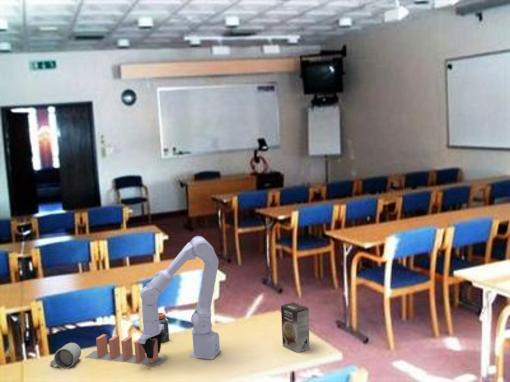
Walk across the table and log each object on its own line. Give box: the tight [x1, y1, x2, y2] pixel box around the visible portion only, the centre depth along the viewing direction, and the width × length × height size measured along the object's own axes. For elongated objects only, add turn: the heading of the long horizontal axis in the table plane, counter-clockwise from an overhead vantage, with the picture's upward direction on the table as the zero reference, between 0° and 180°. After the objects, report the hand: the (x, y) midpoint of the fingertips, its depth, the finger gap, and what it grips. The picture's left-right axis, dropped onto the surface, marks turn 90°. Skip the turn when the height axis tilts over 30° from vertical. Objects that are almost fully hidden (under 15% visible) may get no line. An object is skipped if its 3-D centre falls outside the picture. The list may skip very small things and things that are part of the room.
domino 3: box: [120, 336, 134, 361], centre depth 215 cm, size 2×4×8 cm, turn 160°
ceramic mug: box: [49, 342, 82, 369], centre depth 213 cm, size 11×8×8 cm
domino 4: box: [133, 338, 146, 362], centre depth 213 cm, size 2×4×8 cm, turn 160°
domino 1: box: [95, 333, 109, 358], centre depth 219 cm, size 2×4×8 cm, turn 160°
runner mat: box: [84, 350, 168, 367], centre depth 216 cm, size 32×6×1 cm, turn 70°
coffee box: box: [280, 301, 311, 353], centre depth 218 cm, size 9×6×16 cm
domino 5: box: [149, 338, 160, 363], centre depth 211 cm, size 2×4×8 cm, turn 160°
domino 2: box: [108, 335, 121, 359], centre depth 217 cm, size 2×4×8 cm, turn 160°
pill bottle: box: [158, 312, 170, 344], centre depth 231 cm, size 6×6×11 cm
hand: (153, 355), depth 212 cm, fingers closed on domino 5, 4 cm apart
